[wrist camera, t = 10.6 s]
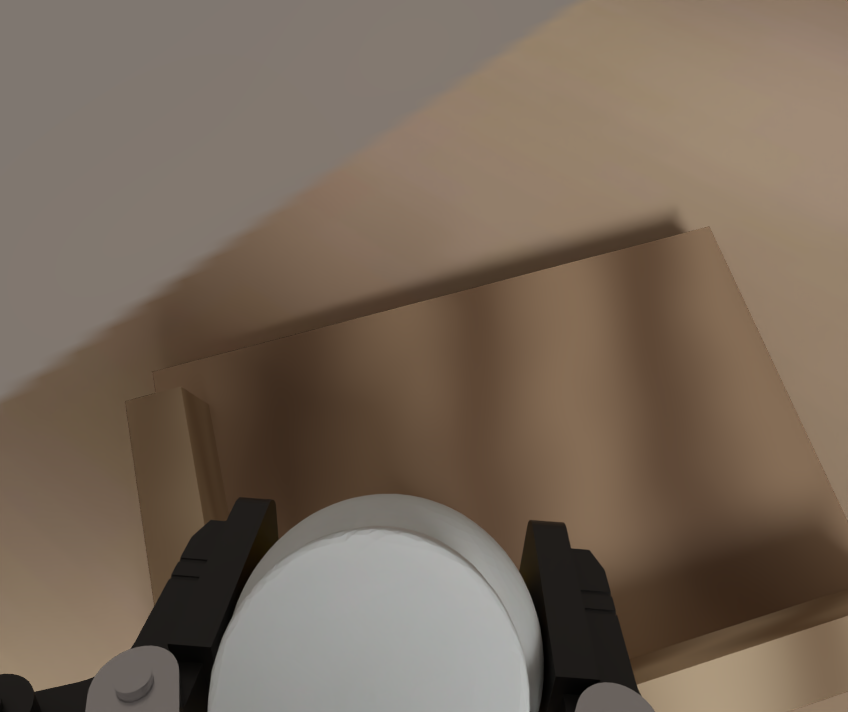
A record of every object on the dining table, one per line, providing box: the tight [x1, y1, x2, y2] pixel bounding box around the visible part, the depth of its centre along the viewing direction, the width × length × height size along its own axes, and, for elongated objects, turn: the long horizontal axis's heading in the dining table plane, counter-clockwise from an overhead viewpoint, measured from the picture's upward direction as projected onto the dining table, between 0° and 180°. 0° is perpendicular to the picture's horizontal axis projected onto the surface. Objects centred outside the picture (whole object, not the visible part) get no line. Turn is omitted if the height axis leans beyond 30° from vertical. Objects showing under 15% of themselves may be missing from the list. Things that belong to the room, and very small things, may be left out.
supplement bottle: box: [208, 494, 544, 712], centre depth 12 cm, size 5×5×10 cm
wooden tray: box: [125, 227, 848, 712], centre depth 18 cm, size 20×14×4 cm
